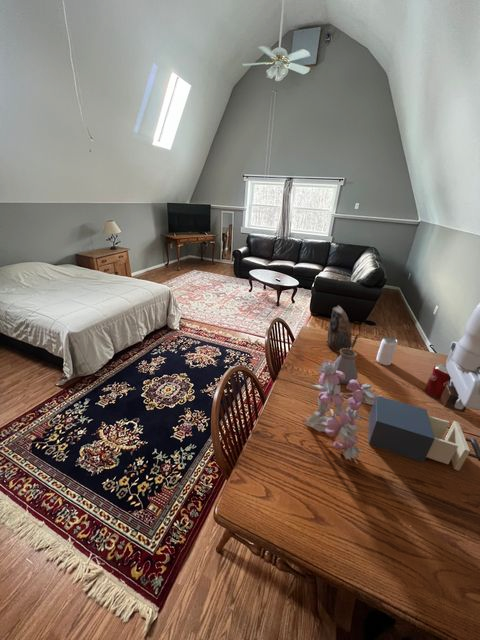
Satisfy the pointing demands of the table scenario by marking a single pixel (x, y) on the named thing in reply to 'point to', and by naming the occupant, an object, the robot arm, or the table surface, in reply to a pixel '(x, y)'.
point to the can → (386, 351)
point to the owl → (339, 330)
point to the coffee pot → (347, 363)
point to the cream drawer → (450, 444)
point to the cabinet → (400, 428)
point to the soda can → (438, 381)
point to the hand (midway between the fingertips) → (454, 400)
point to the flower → (339, 408)
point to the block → (450, 398)
